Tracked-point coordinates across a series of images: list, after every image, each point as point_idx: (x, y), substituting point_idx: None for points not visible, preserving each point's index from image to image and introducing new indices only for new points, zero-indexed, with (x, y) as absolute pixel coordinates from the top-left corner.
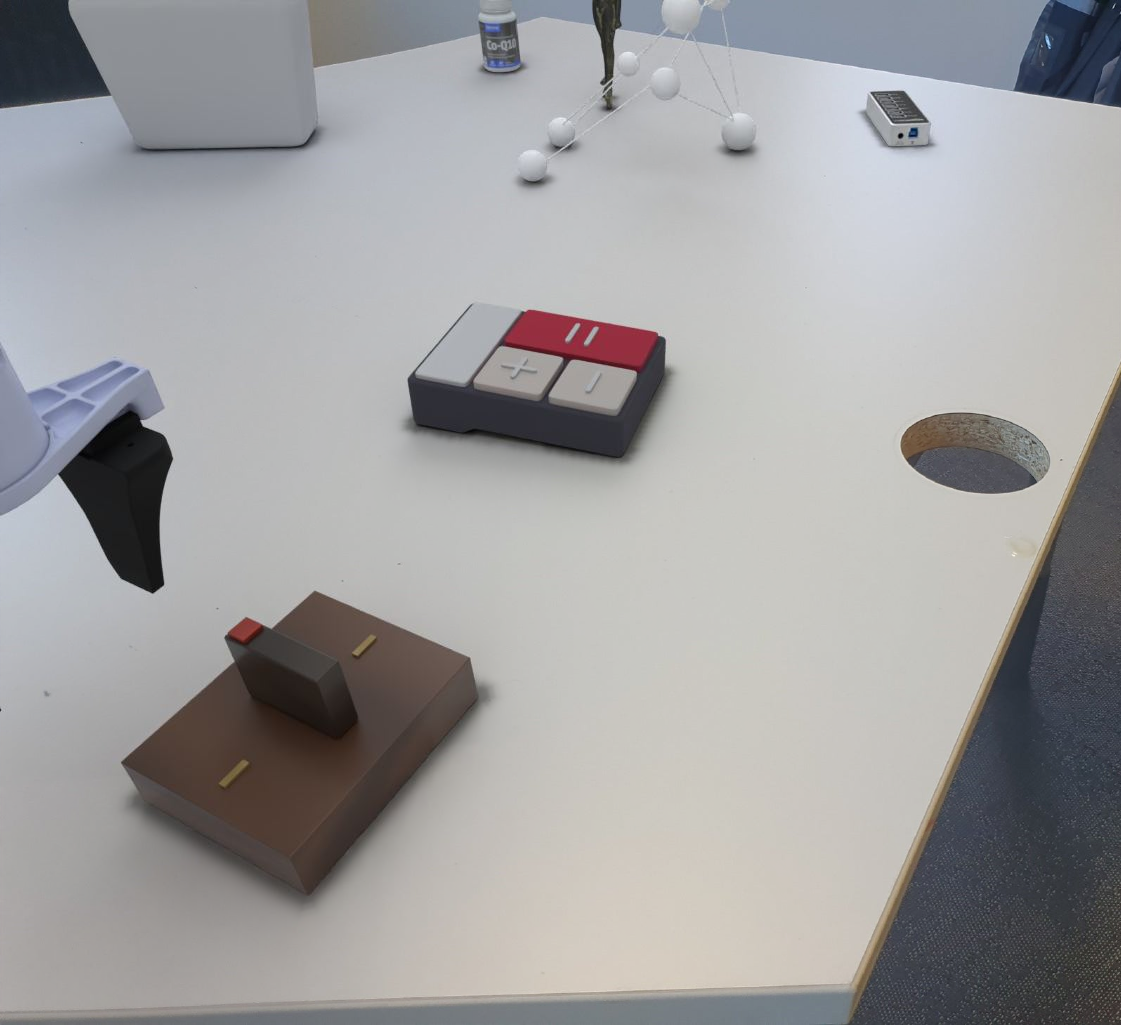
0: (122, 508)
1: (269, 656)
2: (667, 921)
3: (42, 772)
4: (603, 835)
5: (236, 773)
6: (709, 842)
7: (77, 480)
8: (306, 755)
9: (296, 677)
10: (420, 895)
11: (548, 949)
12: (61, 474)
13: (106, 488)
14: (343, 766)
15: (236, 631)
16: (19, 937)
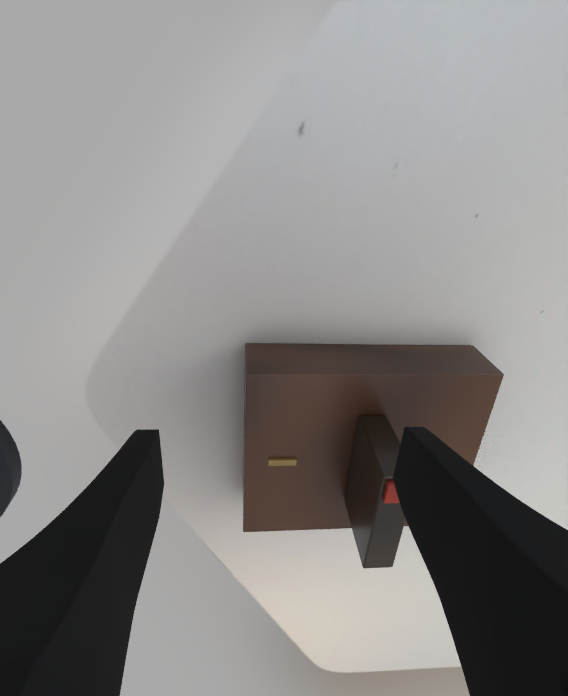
0: (467, 654)
1: (375, 524)
2: (319, 622)
3: (221, 227)
4: (354, 584)
5: (282, 464)
6: (370, 618)
7: (515, 613)
8: (321, 490)
9: (364, 542)
10: (276, 536)
11: (279, 594)
12: (529, 581)
13: (494, 689)
14: (324, 515)
15: (393, 490)
16: (105, 354)
